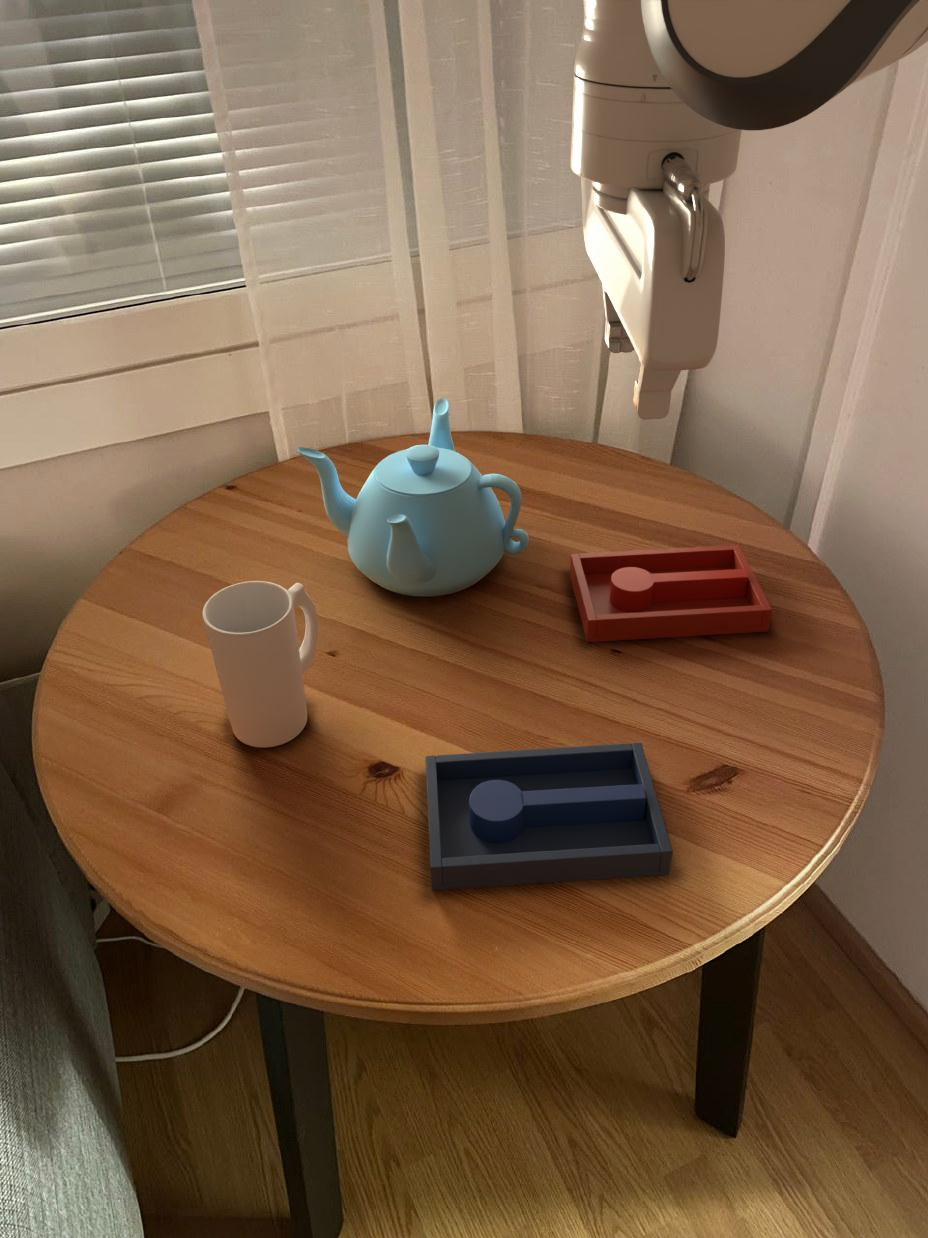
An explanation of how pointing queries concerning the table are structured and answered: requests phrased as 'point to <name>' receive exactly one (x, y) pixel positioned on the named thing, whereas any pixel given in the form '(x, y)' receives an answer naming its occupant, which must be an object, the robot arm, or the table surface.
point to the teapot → (424, 516)
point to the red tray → (666, 617)
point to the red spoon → (673, 587)
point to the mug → (262, 658)
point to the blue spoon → (548, 808)
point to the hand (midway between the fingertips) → (634, 379)
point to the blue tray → (548, 847)
